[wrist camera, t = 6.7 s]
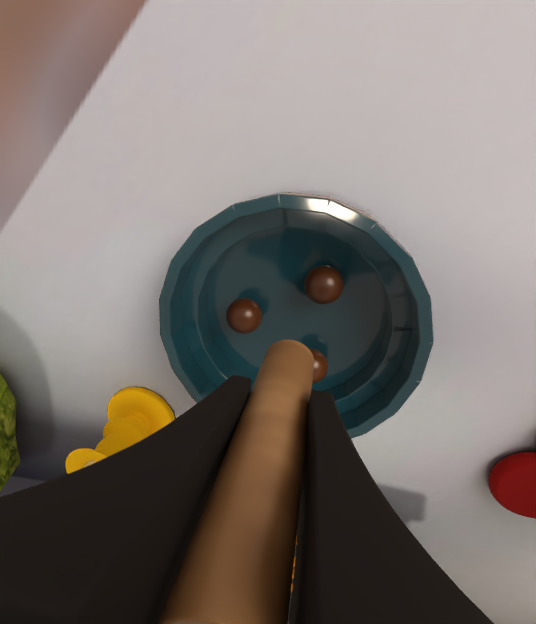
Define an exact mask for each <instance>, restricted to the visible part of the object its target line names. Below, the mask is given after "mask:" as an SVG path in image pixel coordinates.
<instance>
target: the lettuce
mask: <svg viewBox="0 0 536 624" xmlns="http://www.w3.org/2000/svg"><path fill="white" fill-rule="evenodd" d="M16 402H17V401H16V400H15V398H14V396H13V394H12V392H11V391H10V389H9V387H8V385H7V383H6V382H5V380H4V378H3V376H2V375H1V373H0V491H1V490H2V488H3V487H4V485H5V484H6V483H7V481H8V480H9V478H10V477H11V475H12V474H13V472H14V471H15V469H16V468H17V466H18V465H19V463H20V457H19V452H18V447H17V442H16V436H15V425H16Z"/></svg>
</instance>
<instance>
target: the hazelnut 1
mask: <svg viewBox="0 0 536 624" xmlns="http://www.w3.org/2000/svg"><path fill="white" fill-rule="evenodd" d="M226 319H227V322H228V324H229V326H230V327H231V328H232V329H233V330H234V331H235V332H238V333H241V334H248V333H251V332H253V331H255V330H256V329H257V328H258V327H259V326H260V324H261V321H262V310H261V308H260V306H259V304H258V303H257V302H255V301H254V300H252V299H250V298H239V299H236V300H235V301H233V302H232V303H231V304H230V305H229V307H228V309H227V313H226Z"/></svg>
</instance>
